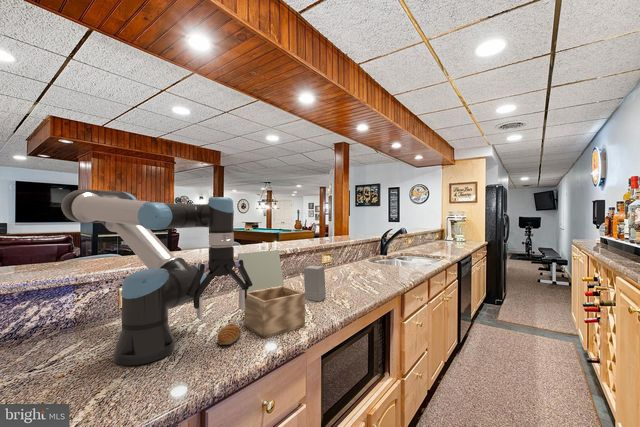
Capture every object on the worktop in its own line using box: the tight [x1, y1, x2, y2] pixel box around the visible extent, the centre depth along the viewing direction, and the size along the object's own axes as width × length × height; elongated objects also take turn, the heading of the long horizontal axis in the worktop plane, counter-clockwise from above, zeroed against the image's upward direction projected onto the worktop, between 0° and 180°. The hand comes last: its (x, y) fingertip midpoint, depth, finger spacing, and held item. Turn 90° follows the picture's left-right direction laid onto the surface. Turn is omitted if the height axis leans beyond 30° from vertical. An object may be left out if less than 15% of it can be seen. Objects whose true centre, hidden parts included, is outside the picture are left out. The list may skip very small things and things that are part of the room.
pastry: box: [217, 323, 242, 346], centre depth 95 cm, size 9×7×4 cm
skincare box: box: [303, 265, 327, 302], centre depth 142 cm, size 8×7×16 cm
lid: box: [237, 249, 285, 293], centre depth 115 cm, size 18×14×2 cm
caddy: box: [243, 285, 306, 340], centre depth 108 cm, size 17×14×12 cm
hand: (221, 313), depth 94 cm, fingers open, 13 cm apart
